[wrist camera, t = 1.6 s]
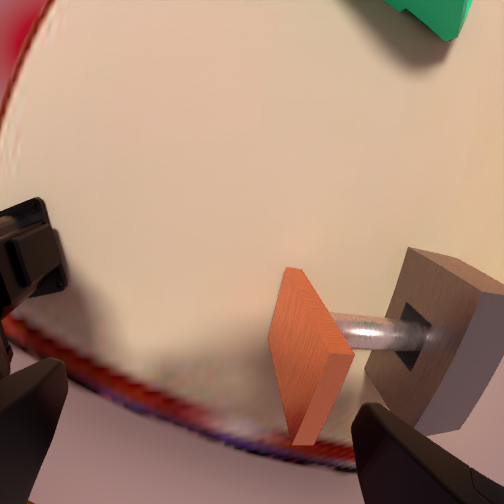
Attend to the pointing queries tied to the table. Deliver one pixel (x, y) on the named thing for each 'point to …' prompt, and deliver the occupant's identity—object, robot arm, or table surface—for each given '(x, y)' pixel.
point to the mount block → (441, 342)
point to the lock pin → (324, 351)
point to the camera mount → (437, 14)
